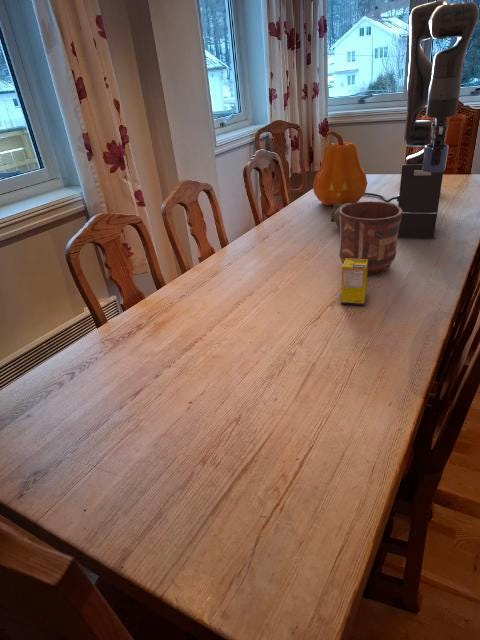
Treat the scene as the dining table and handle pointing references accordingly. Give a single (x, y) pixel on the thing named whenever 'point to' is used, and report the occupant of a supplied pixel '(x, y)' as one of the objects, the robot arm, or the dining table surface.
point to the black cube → (417, 225)
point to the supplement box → (354, 281)
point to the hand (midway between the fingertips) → (434, 162)
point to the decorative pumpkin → (340, 174)
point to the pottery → (370, 233)
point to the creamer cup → (428, 156)
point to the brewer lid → (419, 189)
